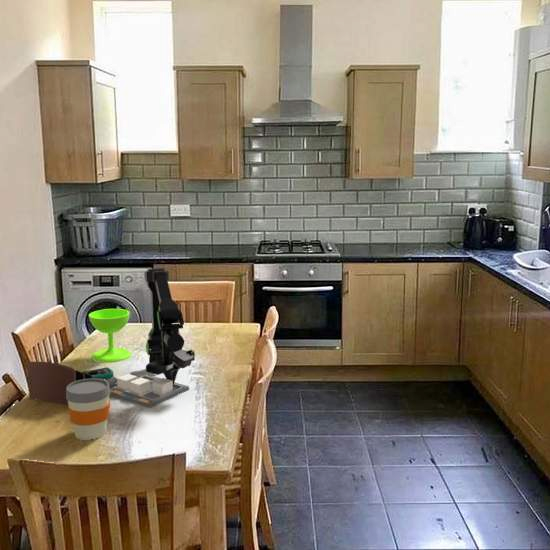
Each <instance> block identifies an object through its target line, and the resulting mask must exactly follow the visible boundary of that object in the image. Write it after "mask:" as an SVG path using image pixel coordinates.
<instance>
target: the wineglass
mask: <svg viewBox="0 0 550 550" xmlns="http://www.w3.org/2000/svg"><path fill="white" fill-rule="evenodd" d="M88 319H89V322H90V323H91V326H92V327H93V328H94V329H95V330H96V331H99V332H100V333H104V334H107V337H108V339H107V340H108V347H107V348H104V349H101V350H97V351H96V352H94V353H93V354H92V355H91V360H92V359H94V360H96V361H95V362H97V361H100V362H99V363H103V362H110V363H118V362H121V361H125V360H128V359H130V358H131V357H132V352H131V351H130V350H128V349H126V348H120V347H114V333H117V332H120V331H121V330H122V329H123V328H125V327H126V325H127V324H128V321H129V319H130V311H129V310H127V309H123V308H106V309H105V308H104V309H100V310H99V309H98V310H95V311H92V312H90V313H88ZM94 360H93V361H94Z"/></svg>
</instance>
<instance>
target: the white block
mask: <svg viewBox="0 0 550 550" xmlns="http://www.w3.org/2000/svg"><path fill="white" fill-rule="evenodd" d="M116 378H117V383H116V385H117V387H118V388H120V389H123V390H127V391H128V390H130V382H131V381H134V380H136V379H137V378H138V376H136V375H133V374H130V373H126V374H124V375H122V376H121V375H120V376H119V377H116Z"/></svg>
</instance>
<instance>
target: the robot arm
mask: <svg viewBox="0 0 550 550" xmlns="http://www.w3.org/2000/svg"><path fill="white" fill-rule="evenodd" d="M143 275H144V276H143V279H144V282H146V286H147V287H148V288H149V290H150V300H151V302H150V303H151V327H152V328H151V329H150V331H149V333H148V339H147V340H146V345H145V352H146V354H147V355H148V356H149V357H148V363H146V365H145V373H149V374H153V375H156V376H158V375H162V374H163V375H164V378H165V379H169V380H172V381H173V385H174V382H175V383H176V379H177V376H178V372H179V370H180V369H186V368H187V367H190V366H191V365H192V362H193V361H195V359H196V357H195V356H196V353H195V350H193V349H192V348H191V349H189V350H184V349H183V348H184V345H185V340H184V337H183V336H182V334H181V332H180V329H184V324H185V320H184V316H183V312H182V311H181V309H180V308H179V306H178V303H177V302H176V301H174V300H173V298H172V297H173V296H172V293H171V289H170V285H169V281H170V270H165V268H164V267H159V268H147V270H146V271H144V274H143Z"/></svg>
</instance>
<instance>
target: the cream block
mask: <svg viewBox="0 0 550 550" xmlns="http://www.w3.org/2000/svg"><path fill="white" fill-rule="evenodd" d="M138 378H139V377H138ZM149 391H151V387H150V380H147V379H144V378H139V379H136V380H134V381H131V382H130V392H133V393H136V394H139V395H142V394H144V393H147V392H149Z"/></svg>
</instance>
